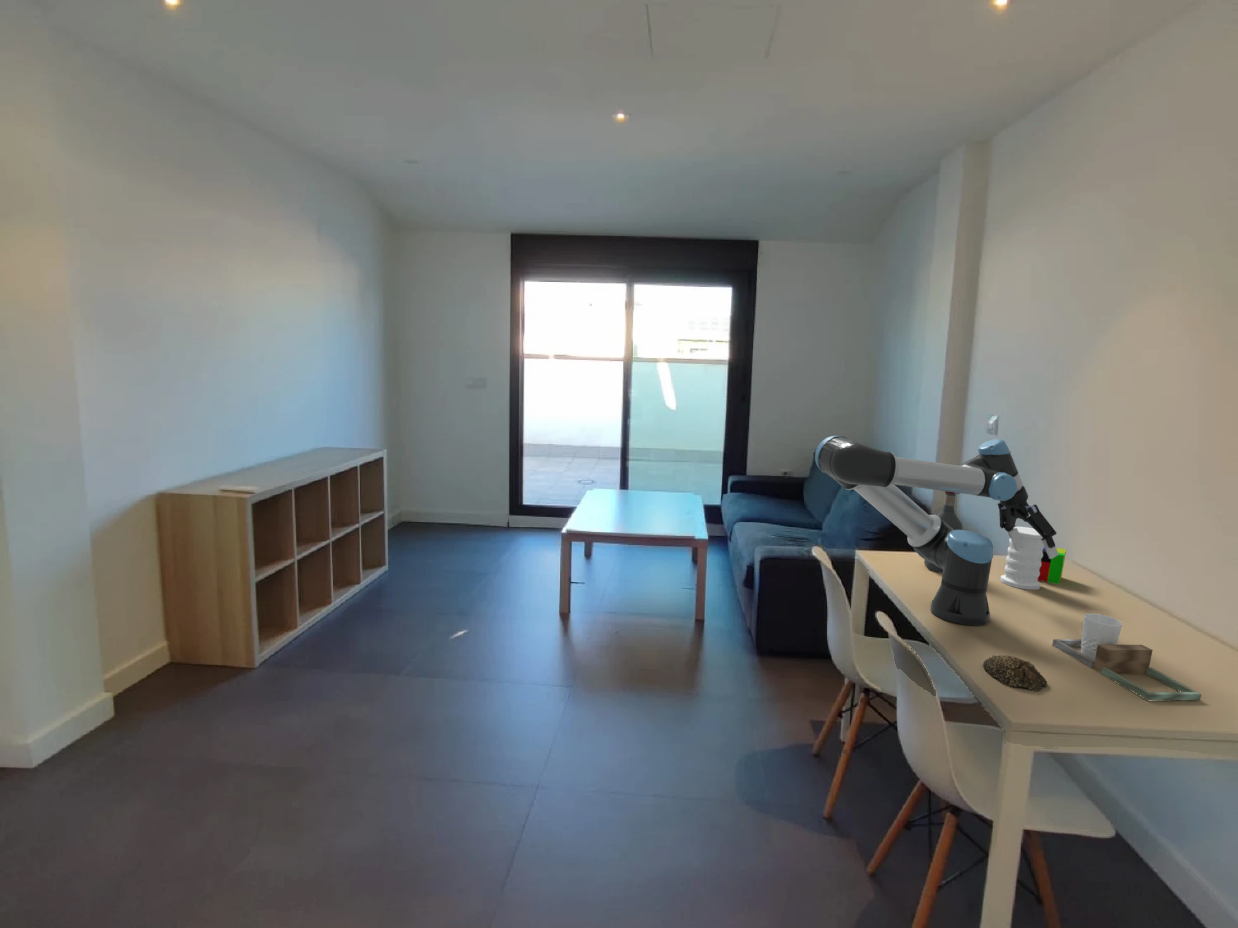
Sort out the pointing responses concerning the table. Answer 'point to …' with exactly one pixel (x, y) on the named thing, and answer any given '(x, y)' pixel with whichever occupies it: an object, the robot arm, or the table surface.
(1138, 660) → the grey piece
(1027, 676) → the bread roll
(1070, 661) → the table surface
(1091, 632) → the white cup
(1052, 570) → the puzzle toy
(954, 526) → the liquor
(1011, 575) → the decorative container
